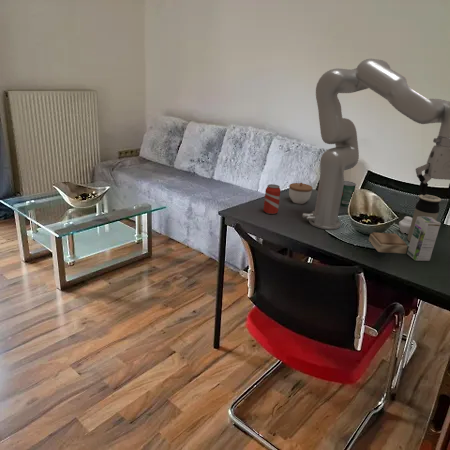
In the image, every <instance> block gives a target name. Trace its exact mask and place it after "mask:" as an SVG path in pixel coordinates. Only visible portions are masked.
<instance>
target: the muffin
mask: <svg viewBox="0 0 450 450" xmlns="http://www.w3.org/2000/svg"><path fill="white" fill-rule="evenodd" d="M412 219H413V217H411V216H407V215H406V216H404V217H403V219H402V220H400V221H399V222H398V226H399V230H400V233H402V232H403V233H402V234H404V233H406V234H405V235H408V234H409V230H410V226H411V222H412Z"/></svg>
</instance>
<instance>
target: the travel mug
mask: <svg viewBox="0 0 450 450" xmlns="http://www.w3.org/2000/svg"><path fill="white" fill-rule="evenodd" d="M418 198H419V199H418V201H417V202H416V204H415V208H414V211H413V215H412V218H413V219H412V222H411V226H410V230H409V234H407V238H406V239H407V241H409V242H410V241H411V237H412V233H413V230H414V226H415V222H416V219H417V217H419V216H425V217H432V218H433V219H435V220H436V221H437V219H438V215H439V212H440V202H441V201H442V199H441V198H440V197H438V196H435V195H431V194H426V195H422V194H419V195H418Z"/></svg>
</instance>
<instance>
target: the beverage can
mask: <svg viewBox="0 0 450 450" xmlns="http://www.w3.org/2000/svg"><path fill="white" fill-rule="evenodd" d="M281 191H282V190H281V188H280V185H278V184H273V183H272V184H268V185H267V186H266V188H265V192H264V193H265V194H264V202H263V212H265V214H267V215H276V214H277V213H278V212H279V207H280V200H281Z"/></svg>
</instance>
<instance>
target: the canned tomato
mask: <svg viewBox="0 0 450 450" xmlns="http://www.w3.org/2000/svg"><path fill="white" fill-rule="evenodd" d="M356 186H357V184H356V183H355V182H354V181H350V180H349V181H348V180H344V186H343V192H342V197H341V203H340V208H343V209H349V208H348V205H349V202H350V199H351V197H352V194H353V192H354V193H355V191H356Z"/></svg>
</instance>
